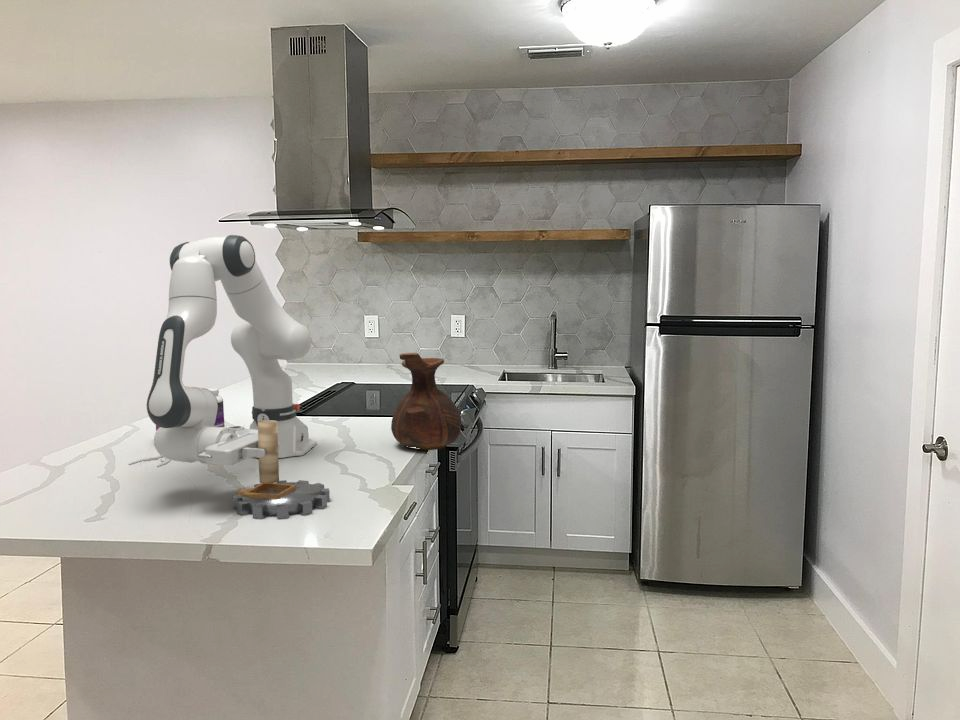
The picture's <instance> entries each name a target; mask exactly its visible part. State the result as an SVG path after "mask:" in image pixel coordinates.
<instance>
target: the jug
mask: <svg viewBox="0 0 960 720" xmlns="http://www.w3.org/2000/svg"><path fill="white" fill-rule="evenodd" d="M399 359H400V360H402V362H401V366H402V367H404V368H405V369H408V371H410V374H411V388H410V390H409V392H407V394H405V395H404V396H403V397H402V398H401V399H400V400H399V402H398V404H397V406H396V408H395V410H394V412H393V415H392V419H391V425H390V429H391V433H392V435H393V438H394V439H395V441H396V442H398V443H399V444H400V445H402V446H404V447H405V446H408V447H416V448H420V449H421V450H423V451H433V450H441V449H443V448H446V447H448V446H450V445H451V444H452V443H455V442H456V441H457V439H458V438H459V437H460V434H461V432H462V431H461V430H462V417H461V413H460V411H459V409H458V408H457V406H456V404H455V403H454V401H453V400H452V398H451V397H449V396H448V394H446V393H444V392H442V391H441V390H440V389H439V388H438V386H437V382H436V372H437V369H438V368H440V367H441V366H442V365H444V363H445V359H443V358H439V357H425V358H424V357H423V358H422V357H421V355H420V354H419V353H417V352H407V353H406V352H405V353H400V354H399Z"/></svg>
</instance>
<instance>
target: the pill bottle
mask: <svg viewBox="0 0 960 720" xmlns="http://www.w3.org/2000/svg"><path fill="white" fill-rule="evenodd" d="M207 389H208V390H210V391H211V392H212V393H213V394H214V395H215V397H216V399H217V402H218V412H217V417H216V422H215V426H214V427H225V426H226V425H225V412H224V411H225V410H224V409H225V408H224V398H223V397H222V396H220V395H219V393H220V391H219V388H215V387H214V388H212V387H211V388H210V387H209V388H207Z"/></svg>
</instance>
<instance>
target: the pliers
mask: <svg viewBox="0 0 960 720" xmlns="http://www.w3.org/2000/svg"><path fill="white" fill-rule="evenodd" d="M162 458H164V457H163V456H161V455H158V456H152V457H145V458H141V459H138V460H134V461H132V462H129V463H128V466H132V465H135V464H138V462H139V463H143V462H152V461H151V460H154V461H158V460H159V459H160V462H161V463H160V464H158V465H156V468H160V467H163V466H166V465H168V464H169V463H170V462H171V461H172V460H170V459H167V458H164V460H163V459H162ZM142 461H143V462H142Z"/></svg>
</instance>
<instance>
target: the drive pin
mask: <svg viewBox="0 0 960 720" xmlns="http://www.w3.org/2000/svg"><path fill="white" fill-rule="evenodd" d="M258 447H259V448H266V449H267V455H266V456H264V457H259V458H258V470H259V471H258V473H259V475H258V476H259V479H258V480H259V484H260V483H264V484H271V483H276V482H278V481H280V464H279V459H280V458H278V423H277V421H275V420H265V421H259V422H258Z"/></svg>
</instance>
